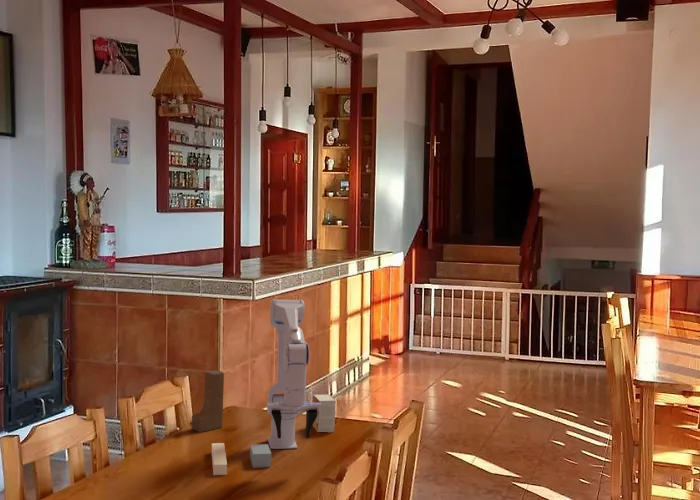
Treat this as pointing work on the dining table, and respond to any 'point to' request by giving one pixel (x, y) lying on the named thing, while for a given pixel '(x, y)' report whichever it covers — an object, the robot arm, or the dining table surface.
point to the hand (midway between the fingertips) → (293, 437)
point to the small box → (325, 413)
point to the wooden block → (211, 403)
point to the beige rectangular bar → (219, 459)
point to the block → (260, 455)
